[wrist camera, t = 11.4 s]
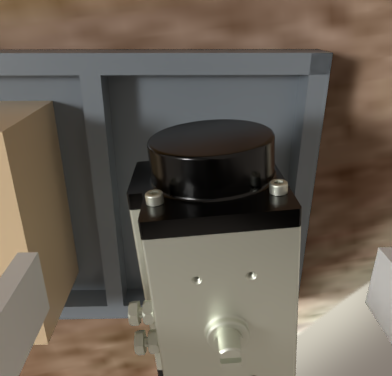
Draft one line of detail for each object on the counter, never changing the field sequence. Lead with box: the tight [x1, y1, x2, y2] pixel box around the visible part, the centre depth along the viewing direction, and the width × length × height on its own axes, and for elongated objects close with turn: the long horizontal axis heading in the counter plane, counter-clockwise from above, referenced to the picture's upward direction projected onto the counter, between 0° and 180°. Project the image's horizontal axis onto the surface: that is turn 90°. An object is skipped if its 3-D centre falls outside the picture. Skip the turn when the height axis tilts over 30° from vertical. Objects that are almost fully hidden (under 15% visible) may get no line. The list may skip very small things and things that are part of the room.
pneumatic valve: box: [126, 119, 302, 376], centre depth 17 cm, size 6×12×12 cm, turn 5°
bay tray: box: [0, 49, 333, 345], centre depth 20 cm, size 16×23×7 cm
